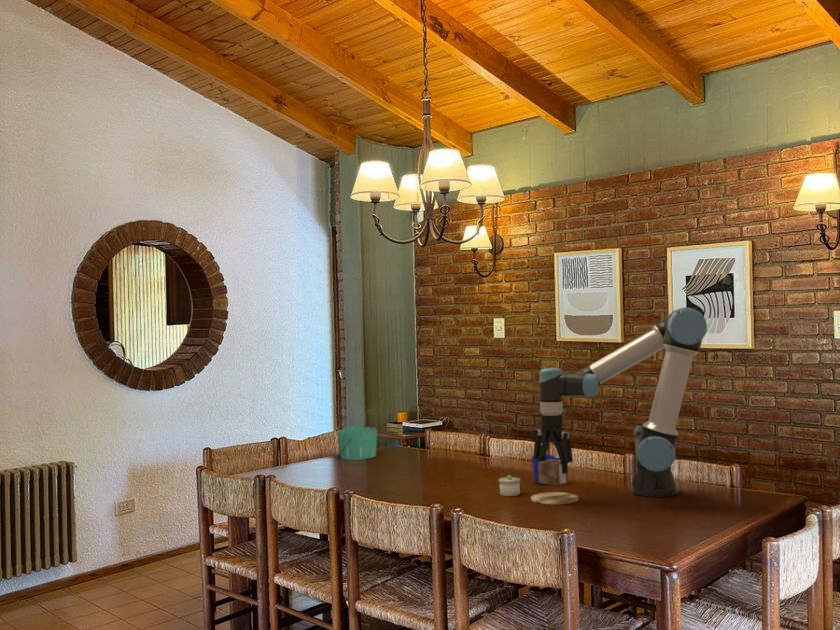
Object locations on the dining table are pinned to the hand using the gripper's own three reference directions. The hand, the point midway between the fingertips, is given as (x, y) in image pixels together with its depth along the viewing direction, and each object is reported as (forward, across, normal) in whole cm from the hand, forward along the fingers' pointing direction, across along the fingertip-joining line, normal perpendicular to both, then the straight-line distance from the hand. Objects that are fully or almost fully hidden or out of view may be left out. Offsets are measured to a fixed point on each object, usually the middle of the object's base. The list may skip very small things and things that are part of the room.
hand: (553, 481), depth 253 cm
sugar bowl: (+6, +17, +3) cm, 18 cm away
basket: (+7, +122, -13) cm, 123 cm away
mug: (+6, +17, -20) cm, 27 cm away
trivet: (+6, 0, 0) cm, 6 cm away
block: (0, 0, 0) cm, 0 cm away
